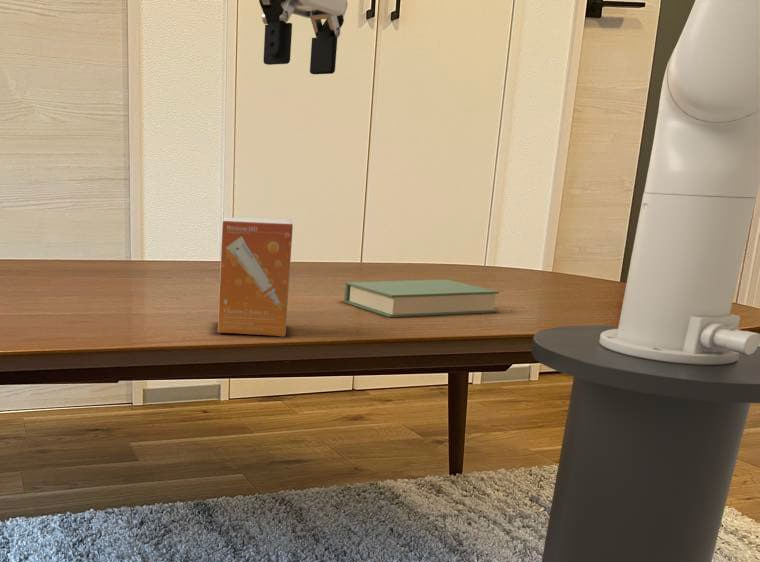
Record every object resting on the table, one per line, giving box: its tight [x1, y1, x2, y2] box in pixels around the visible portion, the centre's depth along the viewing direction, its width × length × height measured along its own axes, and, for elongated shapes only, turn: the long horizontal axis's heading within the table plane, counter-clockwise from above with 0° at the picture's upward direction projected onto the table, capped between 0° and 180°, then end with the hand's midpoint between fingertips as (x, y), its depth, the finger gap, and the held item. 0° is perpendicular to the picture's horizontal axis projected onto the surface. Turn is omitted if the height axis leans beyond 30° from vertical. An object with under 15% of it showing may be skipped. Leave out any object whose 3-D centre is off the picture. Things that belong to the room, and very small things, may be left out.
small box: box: [217, 216, 294, 337], centre depth 91 cm, size 8×6×13 cm
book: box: [343, 278, 500, 318], centre depth 113 cm, size 12×18×3 cm, turn 112°
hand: (300, 69), depth 89 cm, fingers open, 9 cm apart
